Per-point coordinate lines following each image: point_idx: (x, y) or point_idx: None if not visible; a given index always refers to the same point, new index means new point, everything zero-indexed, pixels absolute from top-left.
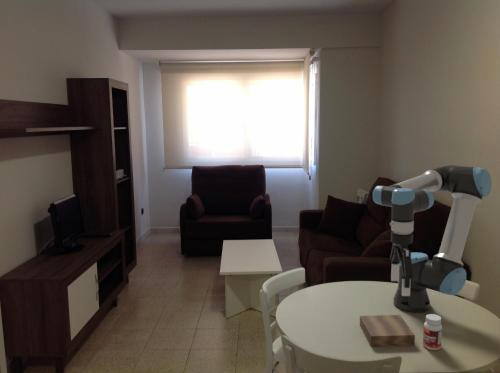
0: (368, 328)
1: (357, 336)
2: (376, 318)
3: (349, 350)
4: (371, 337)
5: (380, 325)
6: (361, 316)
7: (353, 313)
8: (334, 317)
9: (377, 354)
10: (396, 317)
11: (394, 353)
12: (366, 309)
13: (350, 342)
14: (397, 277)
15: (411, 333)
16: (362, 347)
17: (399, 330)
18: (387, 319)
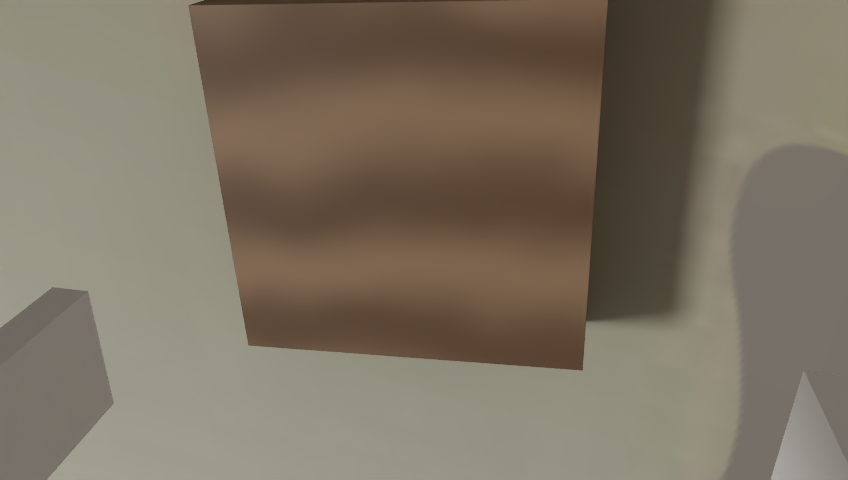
0: (454, 348)
1: (436, 360)
2: (281, 239)
3: (615, 453)
4: (581, 359)
5: (405, 247)
6: (255, 337)
7: (102, 292)
8: (182, 418)
9: (696, 312)
10: (246, 58)
11: (705, 194)
12: (16, 184)
13: (514, 421)
14: (48, 360)
15: (573, 23)
16: (587, 373)
17: (505, 118)
18: (294, 155)
